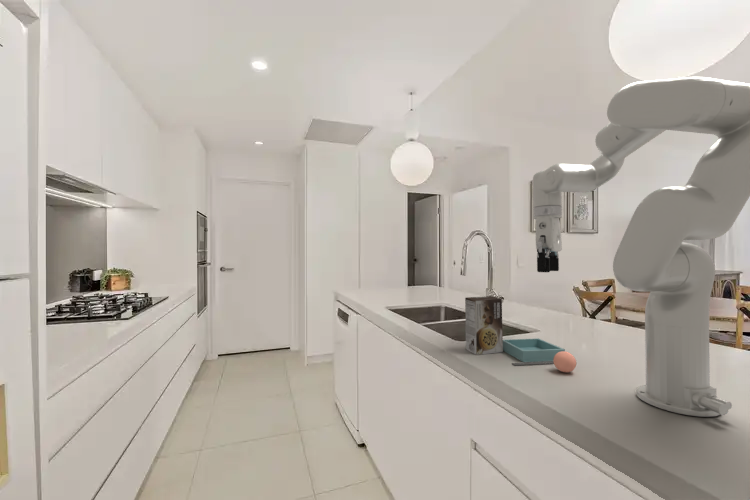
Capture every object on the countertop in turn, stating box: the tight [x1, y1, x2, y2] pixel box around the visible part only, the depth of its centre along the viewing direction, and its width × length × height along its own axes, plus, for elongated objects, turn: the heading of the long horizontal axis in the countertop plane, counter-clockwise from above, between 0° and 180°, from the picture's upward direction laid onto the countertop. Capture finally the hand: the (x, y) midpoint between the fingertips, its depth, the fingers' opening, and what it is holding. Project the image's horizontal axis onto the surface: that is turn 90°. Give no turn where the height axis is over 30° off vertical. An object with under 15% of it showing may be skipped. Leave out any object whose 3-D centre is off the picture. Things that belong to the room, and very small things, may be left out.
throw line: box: [511, 361, 554, 367], centre depth 91 cm, size 2×16×1 cm, turn 97°
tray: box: [503, 337, 566, 363], centre depth 99 cm, size 12×12×3 cm
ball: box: [553, 350, 577, 373], centre depth 85 cm, size 5×5×5 cm
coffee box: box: [464, 295, 504, 356], centre depth 104 cm, size 9×6×16 cm
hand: (548, 271), depth 101 cm, fingers open, 9 cm apart
